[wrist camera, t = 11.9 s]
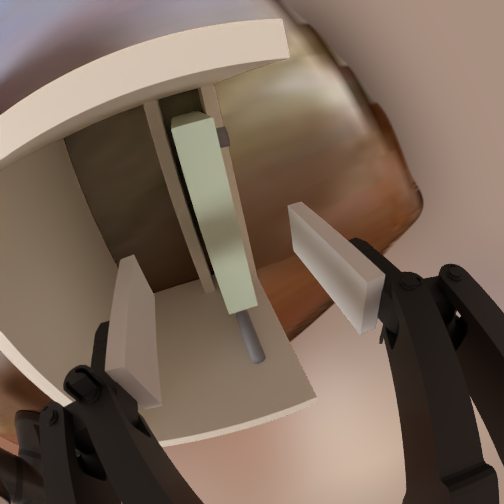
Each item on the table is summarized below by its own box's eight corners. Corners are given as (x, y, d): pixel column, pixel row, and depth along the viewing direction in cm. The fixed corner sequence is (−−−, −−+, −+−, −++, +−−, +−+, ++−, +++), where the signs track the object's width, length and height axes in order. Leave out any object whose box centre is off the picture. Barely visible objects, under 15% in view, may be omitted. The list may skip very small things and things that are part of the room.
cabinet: (252, 271, 29) (316, 403, 16) (130, 309, 28) (129, 450, 15) (206, 72, 18) (281, 18, 5) (48, 131, 16) (-87, 204, 3)
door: (235, 233, 27) (269, 301, 18) (207, 241, 26) (229, 314, 18) (205, 108, 20) (230, 113, 12) (171, 117, 19) (171, 129, 11)
